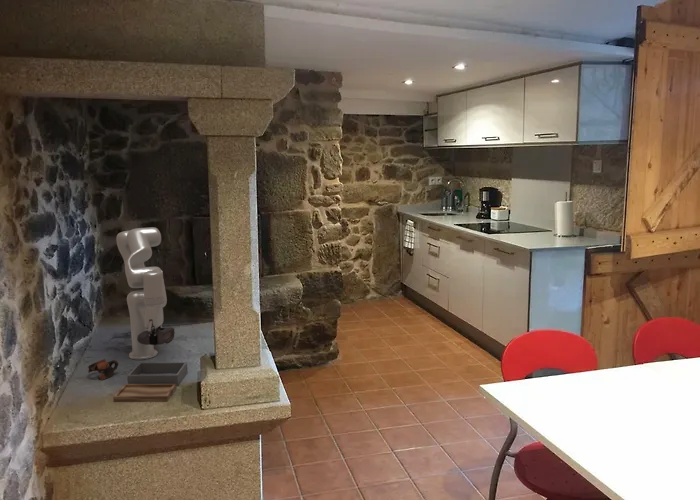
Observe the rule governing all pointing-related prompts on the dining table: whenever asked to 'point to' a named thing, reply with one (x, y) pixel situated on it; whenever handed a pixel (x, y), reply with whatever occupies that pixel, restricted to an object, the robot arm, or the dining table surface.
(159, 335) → the perforated stone tool
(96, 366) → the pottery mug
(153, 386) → the walnut tray
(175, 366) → the charcoal bin
